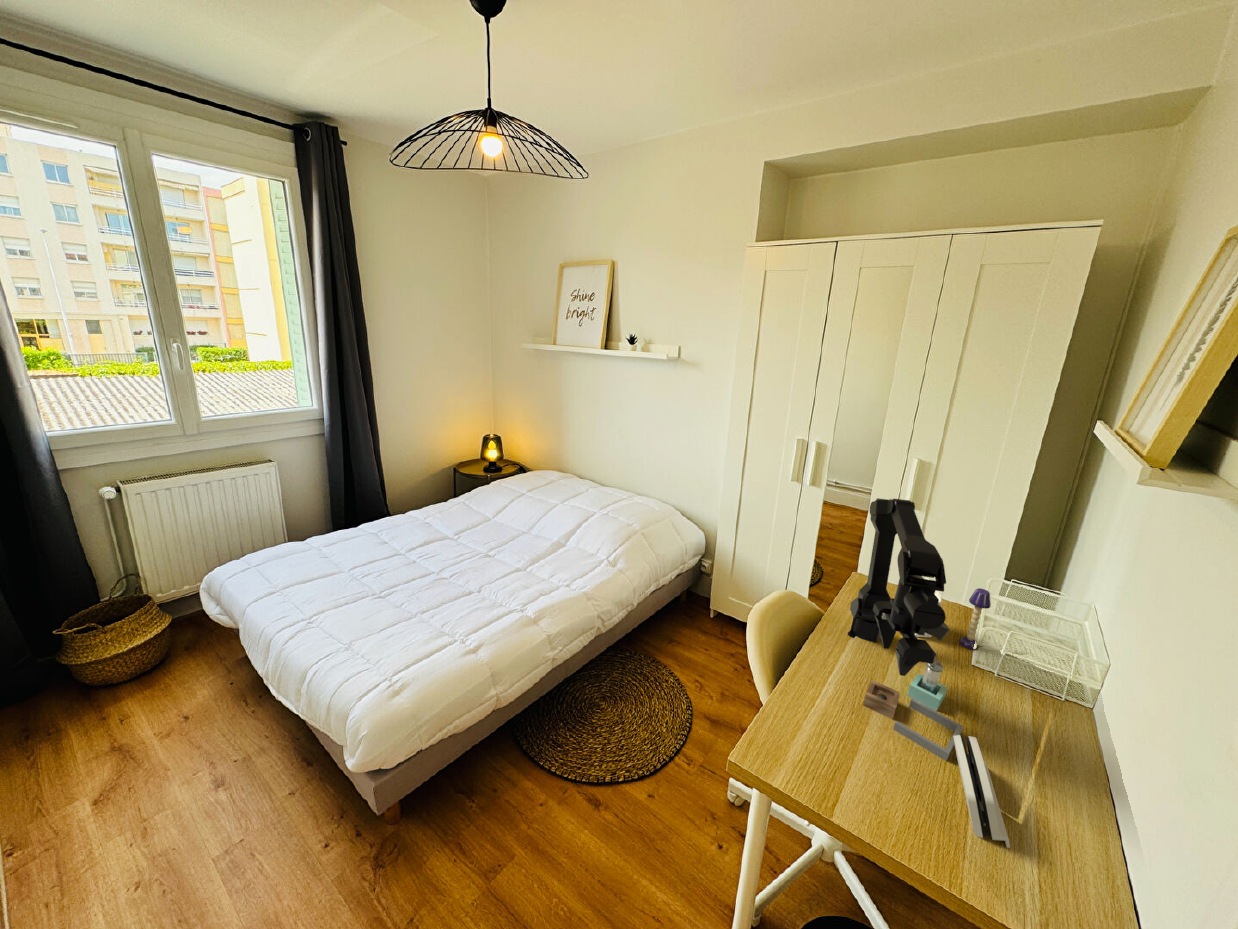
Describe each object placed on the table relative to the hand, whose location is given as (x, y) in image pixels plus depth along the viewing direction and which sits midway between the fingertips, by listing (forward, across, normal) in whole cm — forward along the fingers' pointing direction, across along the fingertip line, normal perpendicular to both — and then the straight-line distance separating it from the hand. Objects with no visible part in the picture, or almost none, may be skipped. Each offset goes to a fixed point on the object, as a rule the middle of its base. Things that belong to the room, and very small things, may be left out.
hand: (893, 661), depth 109 cm
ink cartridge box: (+9, +29, -18) cm, 36 cm away
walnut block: (+9, -5, +3) cm, 11 cm away
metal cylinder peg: (+8, 0, -9) cm, 12 cm away
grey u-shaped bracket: (+9, -10, -4) cm, 14 cm away
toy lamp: (+9, +25, -30) cm, 40 cm away
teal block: (+9, 0, -9) cm, 13 cm away
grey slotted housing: (+9, -25, -6) cm, 27 cm away
